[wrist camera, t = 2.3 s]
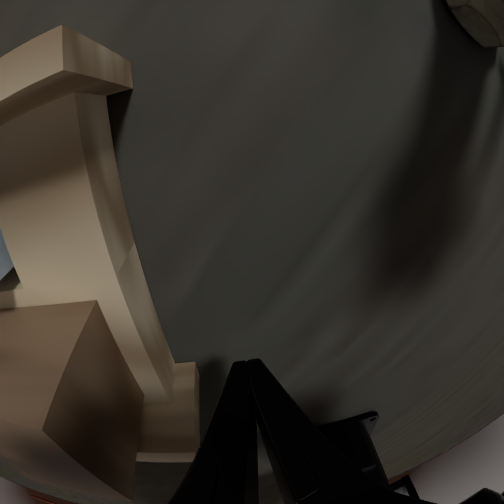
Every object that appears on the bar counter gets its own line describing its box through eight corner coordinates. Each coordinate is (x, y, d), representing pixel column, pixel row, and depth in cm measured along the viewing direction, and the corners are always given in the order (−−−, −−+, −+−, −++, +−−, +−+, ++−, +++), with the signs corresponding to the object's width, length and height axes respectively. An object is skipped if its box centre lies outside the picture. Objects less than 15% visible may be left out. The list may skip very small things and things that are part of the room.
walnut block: (144, 395, 11) (132, 501, 6) (53, 392, 10) (26, 477, 6) (96, 299, 8) (41, 429, 4) (0, 308, 8) (-59, 398, 4)
